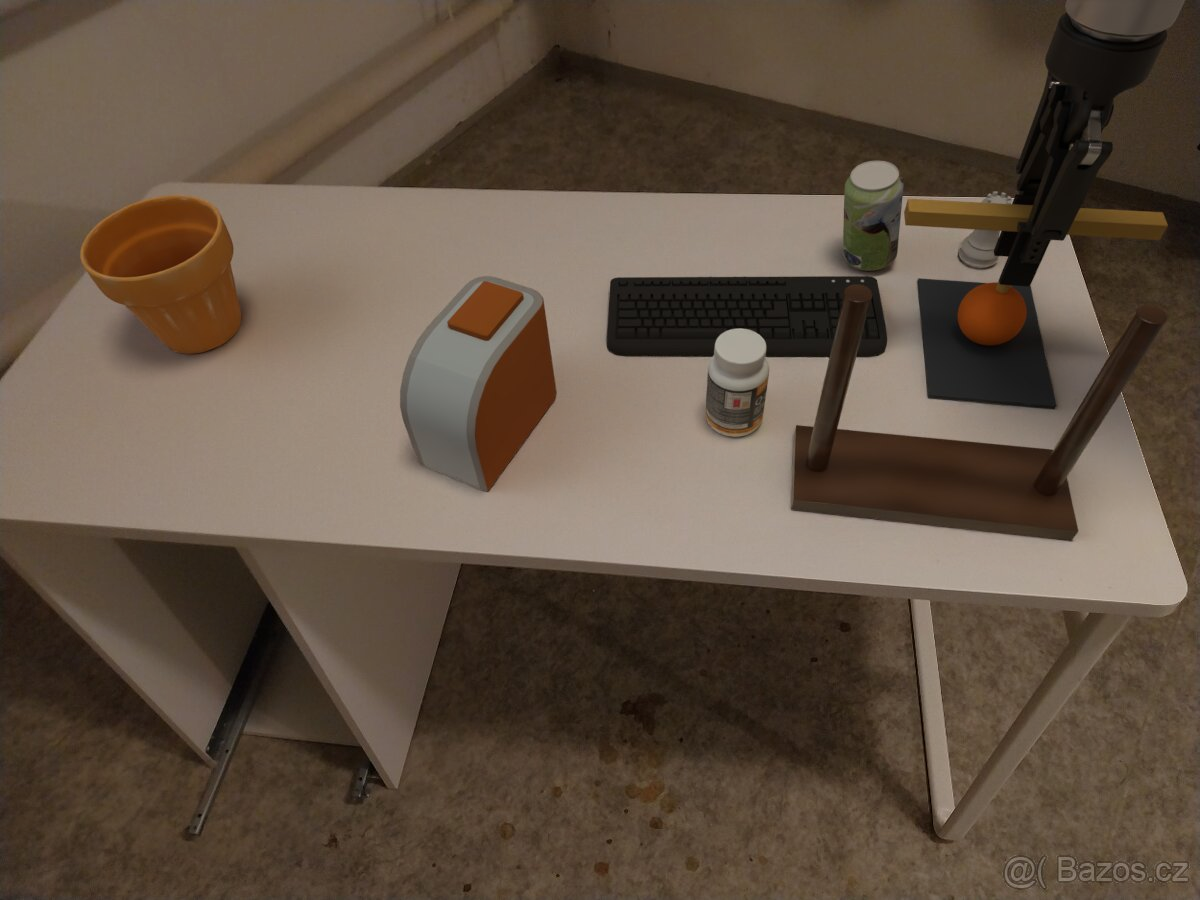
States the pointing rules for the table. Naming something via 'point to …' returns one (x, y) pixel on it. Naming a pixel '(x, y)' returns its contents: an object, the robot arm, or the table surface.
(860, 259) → the beverage can
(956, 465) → the hanger rack
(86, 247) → the flower pot
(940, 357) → the slate mat
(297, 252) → the table surface
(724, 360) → the pill bottle
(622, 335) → the keyboard
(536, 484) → the table surface
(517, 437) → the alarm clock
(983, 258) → the rook chess piece
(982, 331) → the ball on t-bar
